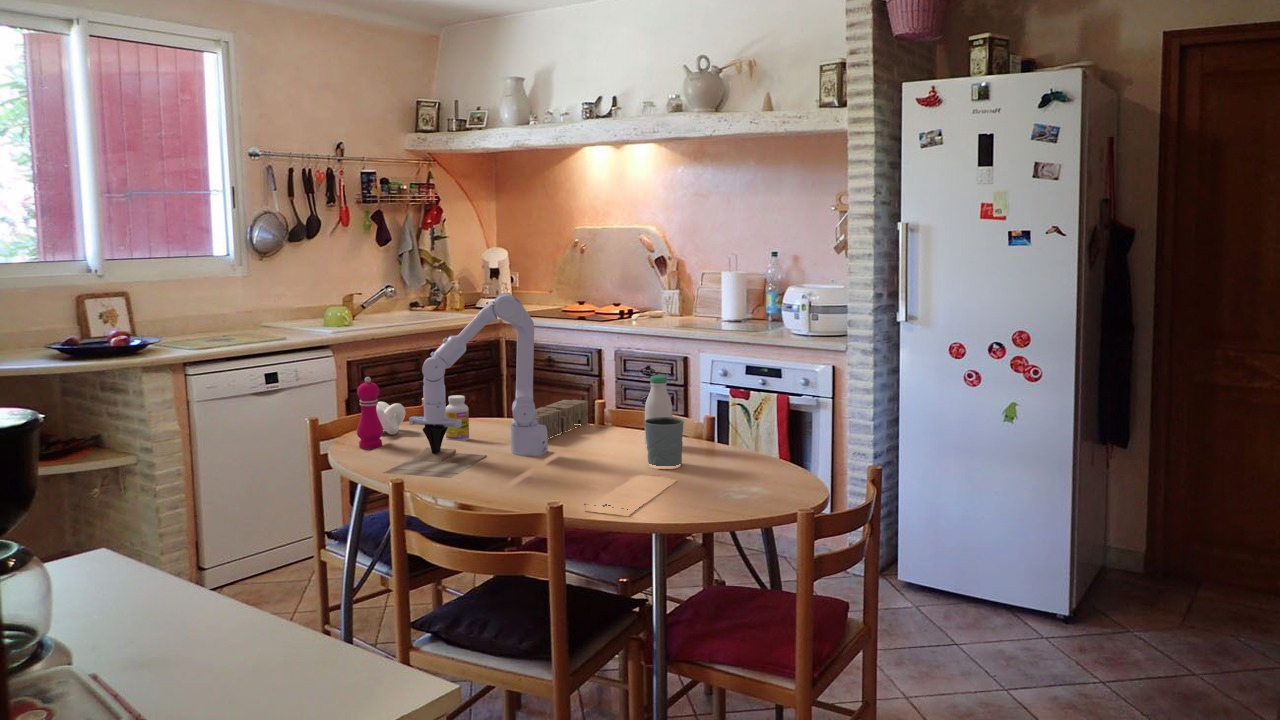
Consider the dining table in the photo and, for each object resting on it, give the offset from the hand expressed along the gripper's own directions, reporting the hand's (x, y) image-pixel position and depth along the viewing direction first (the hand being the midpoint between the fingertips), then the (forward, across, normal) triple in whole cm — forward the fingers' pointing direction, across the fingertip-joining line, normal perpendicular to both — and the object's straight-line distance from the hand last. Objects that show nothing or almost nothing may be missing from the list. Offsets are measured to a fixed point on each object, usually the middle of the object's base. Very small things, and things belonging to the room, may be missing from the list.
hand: (436, 452), depth 275 cm
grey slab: (+2, -5, +13) cm, 14 cm away
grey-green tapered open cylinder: (+2, -60, -10) cm, 61 cm away
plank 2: (+2, -9, +1) cm, 9 cm away
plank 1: (+1, 0, +2) cm, 2 cm away
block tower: (+2, -18, -40) cm, 44 cm away
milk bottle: (+2, -53, -30) cm, 61 cm away
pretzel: (+2, +31, -25) cm, 40 cm away
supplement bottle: (+2, +5, -22) cm, 22 cm away
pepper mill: (+2, +25, -8) cm, 26 cm away
